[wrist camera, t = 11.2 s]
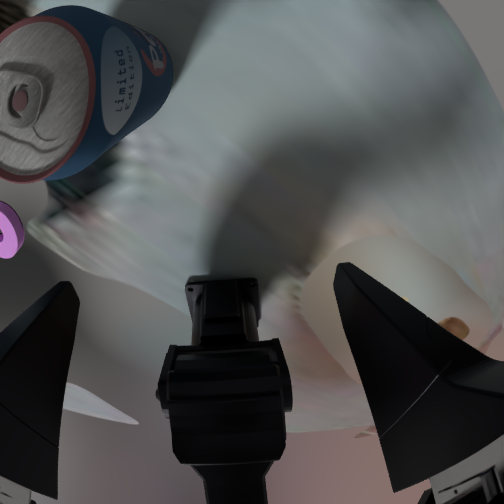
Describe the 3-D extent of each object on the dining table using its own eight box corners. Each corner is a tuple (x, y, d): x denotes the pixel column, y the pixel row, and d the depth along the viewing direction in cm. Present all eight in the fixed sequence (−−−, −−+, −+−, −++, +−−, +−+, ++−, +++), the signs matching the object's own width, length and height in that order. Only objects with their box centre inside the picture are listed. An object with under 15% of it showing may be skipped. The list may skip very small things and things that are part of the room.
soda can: (194, 48, 15) (152, 13, 5) (152, 139, 18) (79, 226, 8) (103, 22, 13) (-13, -2, 3) (70, 112, 16) (-48, 173, 6)
